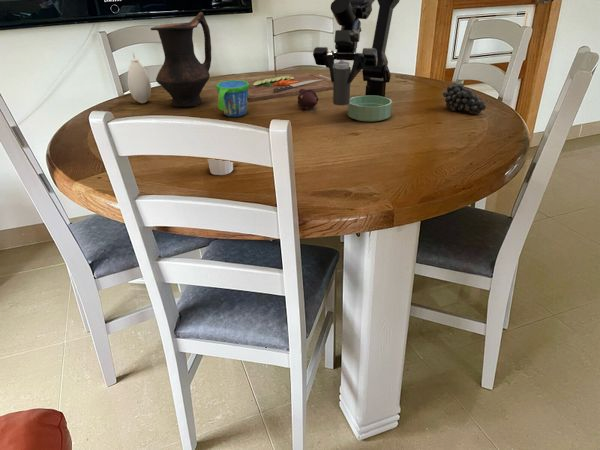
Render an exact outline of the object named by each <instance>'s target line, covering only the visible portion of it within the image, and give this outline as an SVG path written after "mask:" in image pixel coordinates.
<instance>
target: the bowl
mask: <svg viewBox="0 0 600 450" xmlns="http://www.w3.org/2000/svg"><path fill="white" fill-rule="evenodd" d="M386 97H387V96H386ZM386 97H382V96H375V95H356V96H352V97H350V103H349V104H348V105H347V116H348V117H349V118H351V119H353V120H356V121H361V122H380V121H383V120H386V119H389V118H391V116H392V109H393V107H392V106H393V100H392V99H391V98H389V97H388V98H386Z"/></svg>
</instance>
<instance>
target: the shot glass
mask: <svg viewBox="0 0 600 450" xmlns="http://www.w3.org/2000/svg"><path fill="white" fill-rule="evenodd" d="M207 163H208V164H207V165H208V168H209V173H210V174H212V175H215V176H225V175H228V174H231V173H232V172H233V171H234V161H233V162H230V161H222V160H215V159H207Z"/></svg>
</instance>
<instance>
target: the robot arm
mask: <svg viewBox="0 0 600 450" xmlns="http://www.w3.org/2000/svg"><path fill="white" fill-rule="evenodd" d="M375 1H377V4H378V6H379V7H378V13H377V18H376V23H375V30H374V35H373V41H372V45H371V47H363V48H362V52H357V49H358V43H359V42H360V40H361V39H360V38H361V32H362V27H361V25H362V22H361V20H368V18H369V17H370V15H372V11H373V4H374V2H375ZM400 1H401V0H333V1H332V2H331V4H330V11H331V13H332V16H333V17H334V19H335V21H336V23H337V24H338V25H339V26H341V27H340V29H337V30H335V31H334V49H335V50H336V51H333V50H329V49H328V47H327V46H316V47H314V49H313V50H312V56H313V59H314V62H315V65H317V66H325V67H326V68H327V69H329V76H330V79H331V82H333V69H334V67H335V63H336V62H335V61H336V60H337V61H341V60H344V61H353V62H352V66H351V73H350V78H349V83H350V84H352V82H353V81H354V79H355V78H356V77H357V75H359V73H360V72H361V71H362V72H361V73H362V80H363V82H366V85H365V92H364V93H365V95H375V96H382V97H386V98H389V97H388V96H386V88H387V83H388V84H389V83H390V81H391V76H392V74H391V72H390V69H389V65H388V64H389V60H388V57H387V55H386V50H387V46H388V45H387V43H388V39H389V33H390V29H391V28H390V27H391V23H392V17H393V12H394V9H395V8H396V6H398V4H399V3H400Z"/></svg>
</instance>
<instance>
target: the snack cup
mask: <svg viewBox="0 0 600 450" xmlns="http://www.w3.org/2000/svg"><path fill="white" fill-rule="evenodd" d="M246 81H247V80H241V79H229V80H224V81H220V82H218V83H216V84H215V89H216V91H217V92H218V101H217V108H218V109H219V110H220V111H223V115H225V116H226V117H229V118H230V117H231V118H235V117H241V116H245V114H246V113H247V109H248V101H247V98H248V97H249V94H248V88H249V83H248V82H246Z"/></svg>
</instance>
